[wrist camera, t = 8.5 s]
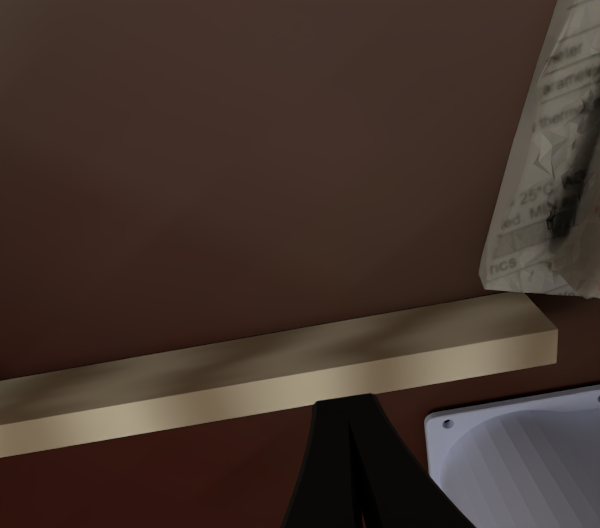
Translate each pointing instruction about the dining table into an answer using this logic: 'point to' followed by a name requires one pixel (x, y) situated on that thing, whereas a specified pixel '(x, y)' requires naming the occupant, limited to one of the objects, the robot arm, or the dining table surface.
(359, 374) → the beige wooden frame
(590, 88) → the packaged product
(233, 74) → the dining table surface
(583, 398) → the robot arm
